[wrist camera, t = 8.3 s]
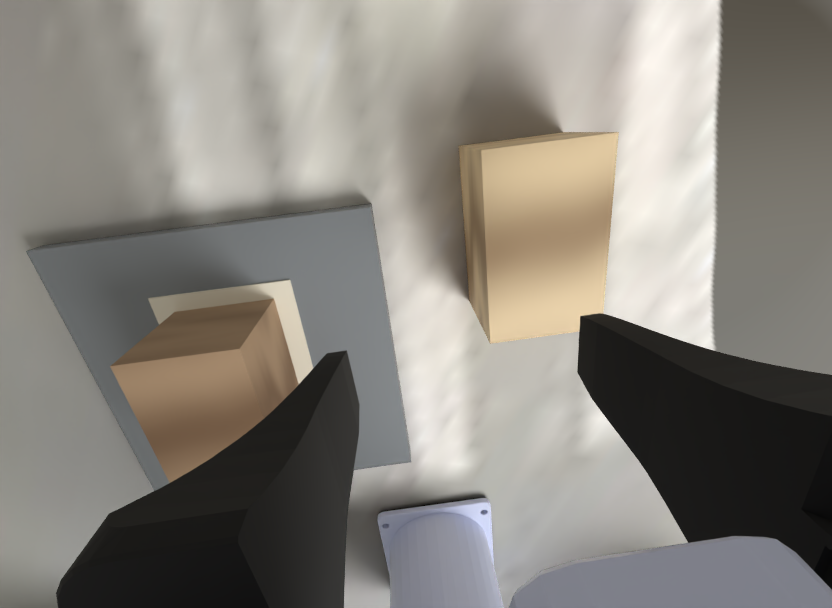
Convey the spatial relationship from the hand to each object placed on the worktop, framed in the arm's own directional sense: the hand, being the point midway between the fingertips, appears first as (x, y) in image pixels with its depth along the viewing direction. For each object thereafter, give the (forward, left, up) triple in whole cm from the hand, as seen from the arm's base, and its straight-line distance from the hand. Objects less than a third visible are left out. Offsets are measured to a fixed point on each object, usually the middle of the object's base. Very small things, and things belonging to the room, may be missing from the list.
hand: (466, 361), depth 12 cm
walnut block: (-4, +11, -8) cm, 14 cm away
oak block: (+2, -4, -10) cm, 11 cm away
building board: (-4, +11, -10) cm, 15 cm away
